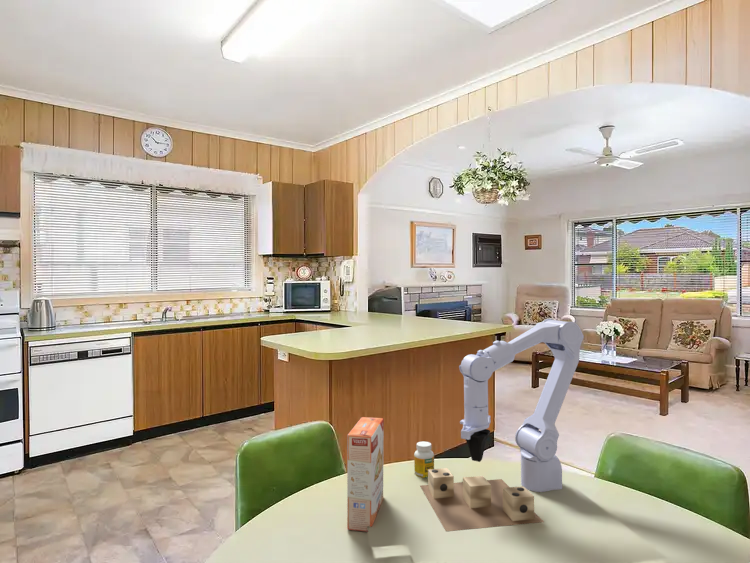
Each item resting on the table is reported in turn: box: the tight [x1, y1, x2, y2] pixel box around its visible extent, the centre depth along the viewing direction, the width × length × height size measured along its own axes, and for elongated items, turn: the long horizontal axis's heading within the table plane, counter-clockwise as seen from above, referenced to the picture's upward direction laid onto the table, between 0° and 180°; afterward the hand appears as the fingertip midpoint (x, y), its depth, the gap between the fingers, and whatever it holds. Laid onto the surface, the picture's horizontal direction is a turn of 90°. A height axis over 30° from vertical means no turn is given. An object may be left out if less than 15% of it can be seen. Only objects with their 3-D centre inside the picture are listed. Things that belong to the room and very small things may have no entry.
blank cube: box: [462, 475, 491, 508], centre depth 111 cm, size 5×5×5 cm
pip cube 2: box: [503, 485, 535, 521], centre depth 105 cm, size 5×5×5 cm
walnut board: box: [419, 478, 545, 532], centre depth 111 cm, size 22×22×2 cm
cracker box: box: [346, 416, 385, 533], centre depth 108 cm, size 14×6×21 cm, turn 168°
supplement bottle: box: [413, 441, 435, 479], centre depth 127 cm, size 5×5×10 cm
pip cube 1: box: [427, 467, 455, 499], centre depth 116 cm, size 5×5×5 cm
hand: (476, 460), depth 115 cm, fingers closed
